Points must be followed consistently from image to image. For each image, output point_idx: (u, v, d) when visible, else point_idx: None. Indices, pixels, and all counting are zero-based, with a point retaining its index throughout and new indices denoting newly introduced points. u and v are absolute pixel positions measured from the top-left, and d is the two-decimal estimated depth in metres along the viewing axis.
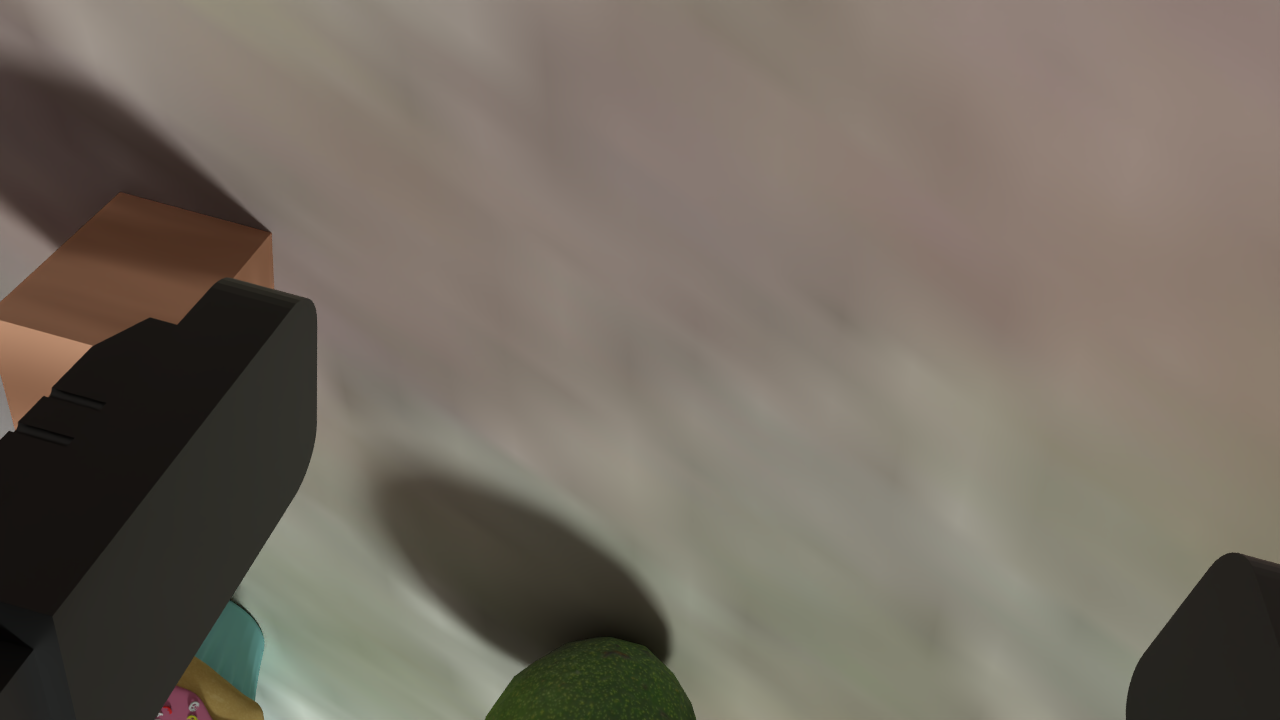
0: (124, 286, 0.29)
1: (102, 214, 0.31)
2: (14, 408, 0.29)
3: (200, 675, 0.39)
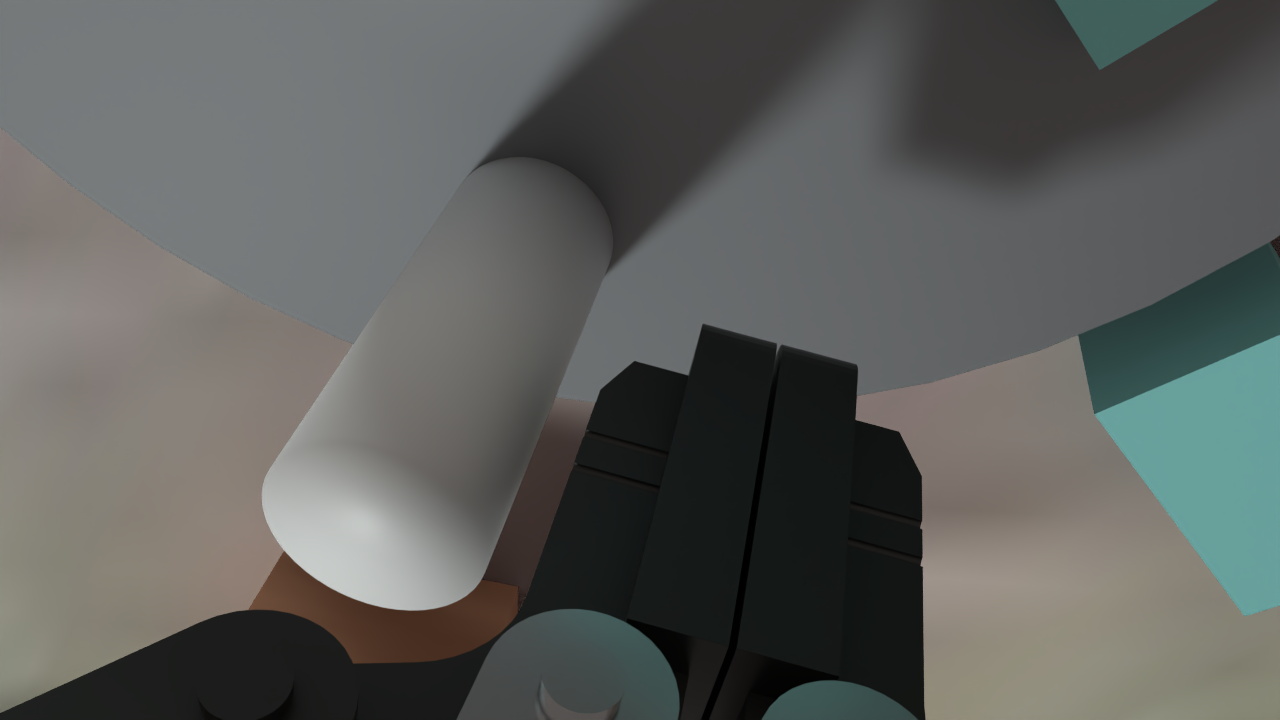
0: None
1: None
2: None
3: None
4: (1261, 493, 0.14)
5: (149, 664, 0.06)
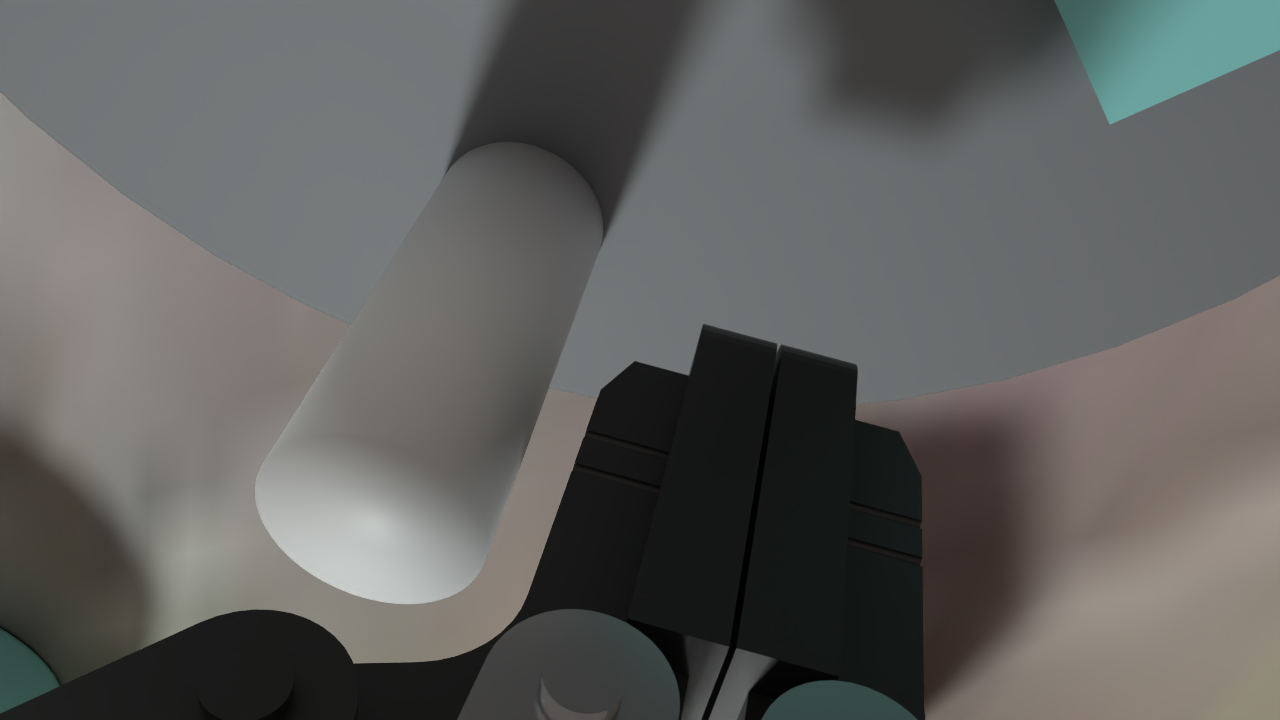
0: None
1: None
2: None
3: None
4: None
5: (149, 662, 0.06)
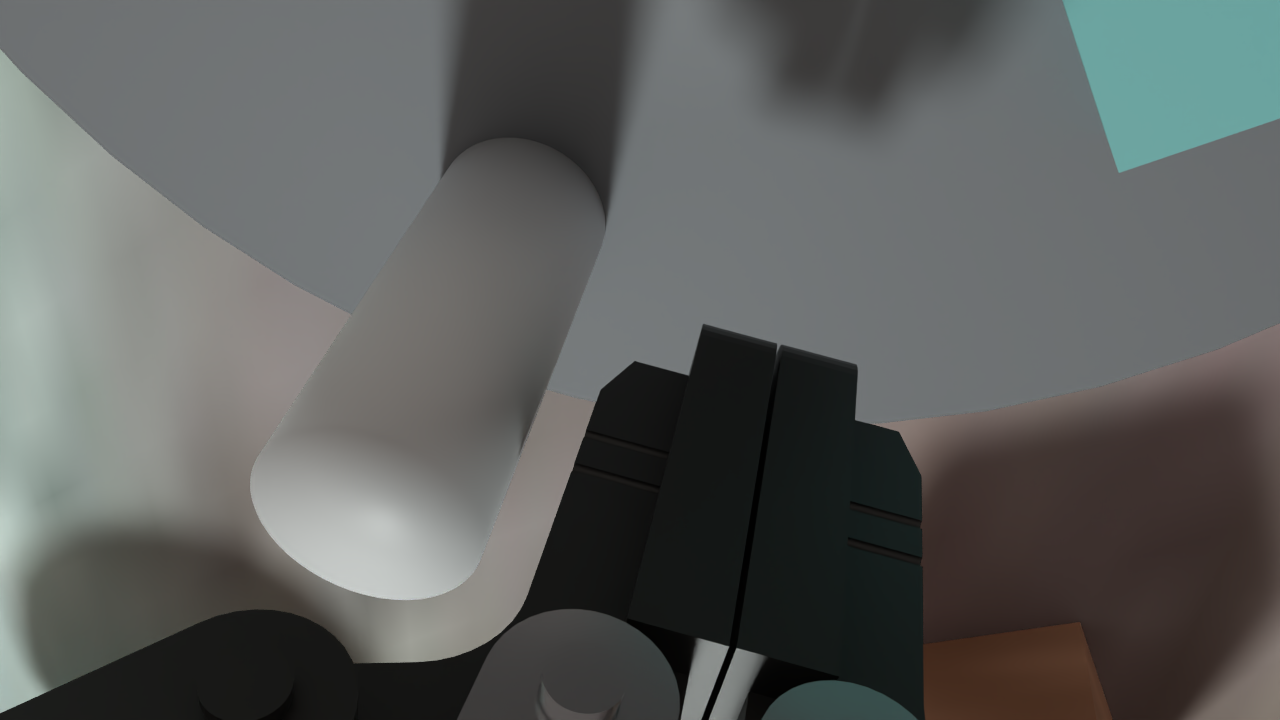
0: None
1: (1091, 684, 0.18)
2: None
3: None
4: None
5: (147, 662, 0.06)
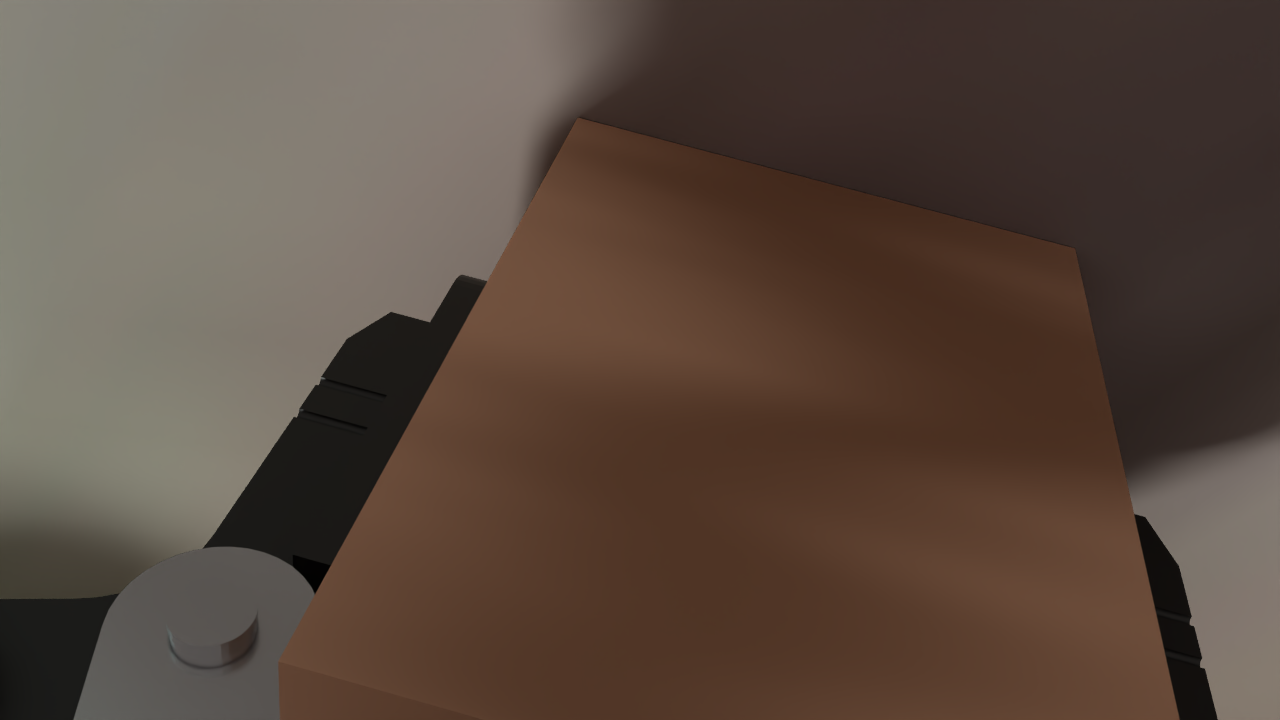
0: None
1: None
2: None
3: None
4: None
5: None
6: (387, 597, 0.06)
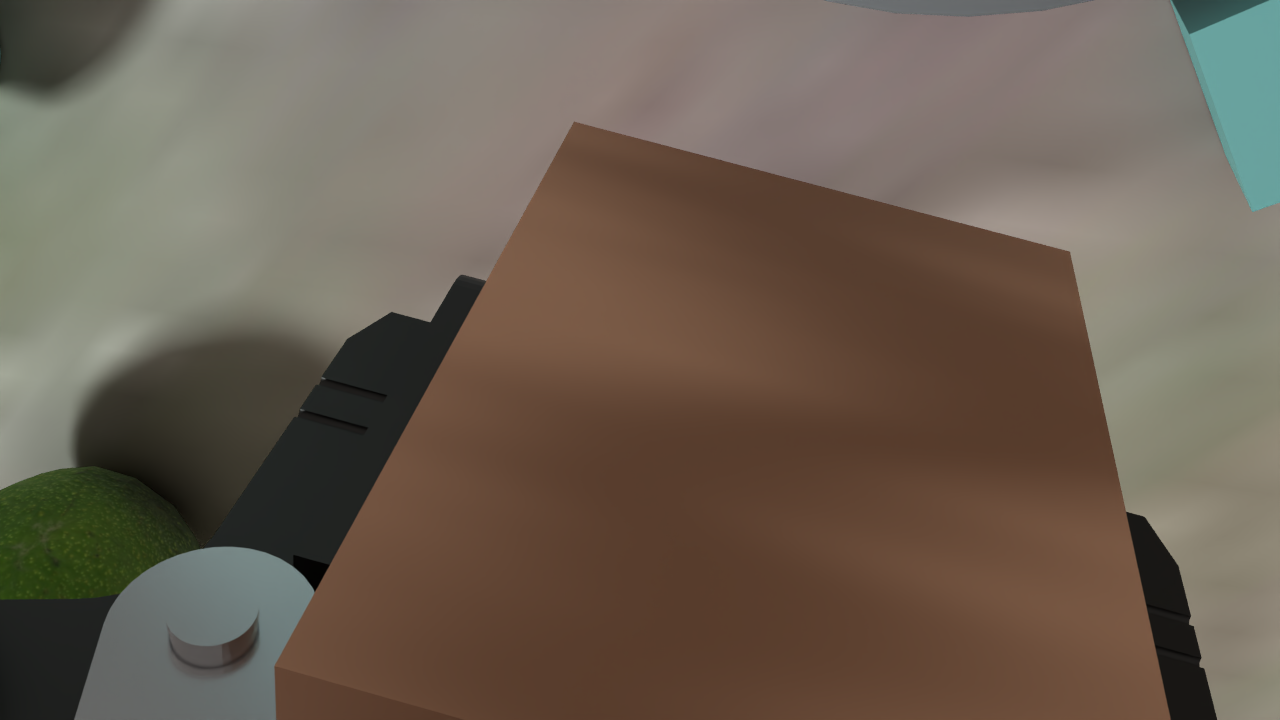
0: None
1: None
2: None
3: None
4: None
5: None
6: (382, 602, 0.06)
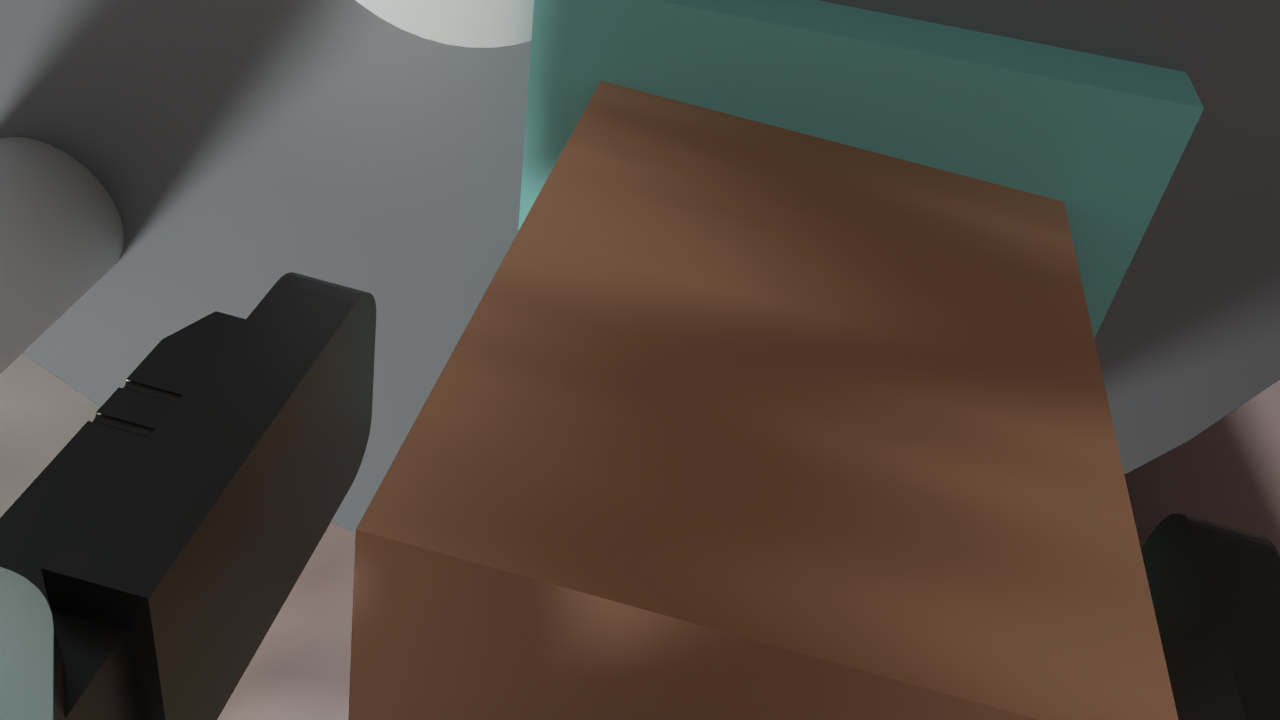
0: None
1: None
2: (606, 619, 0.06)
3: None
4: None
5: None
6: (447, 481, 0.06)
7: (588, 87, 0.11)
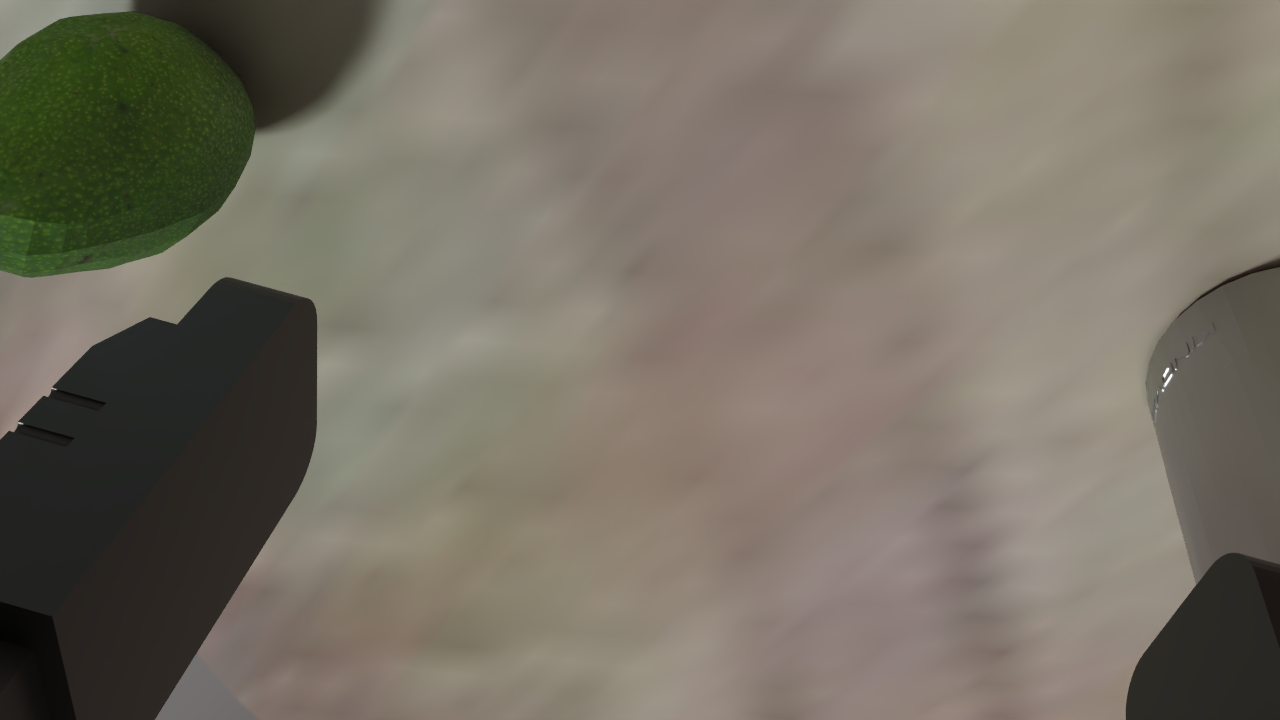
0: None
1: None
2: None
3: None
4: None
5: None
6: None
7: None
